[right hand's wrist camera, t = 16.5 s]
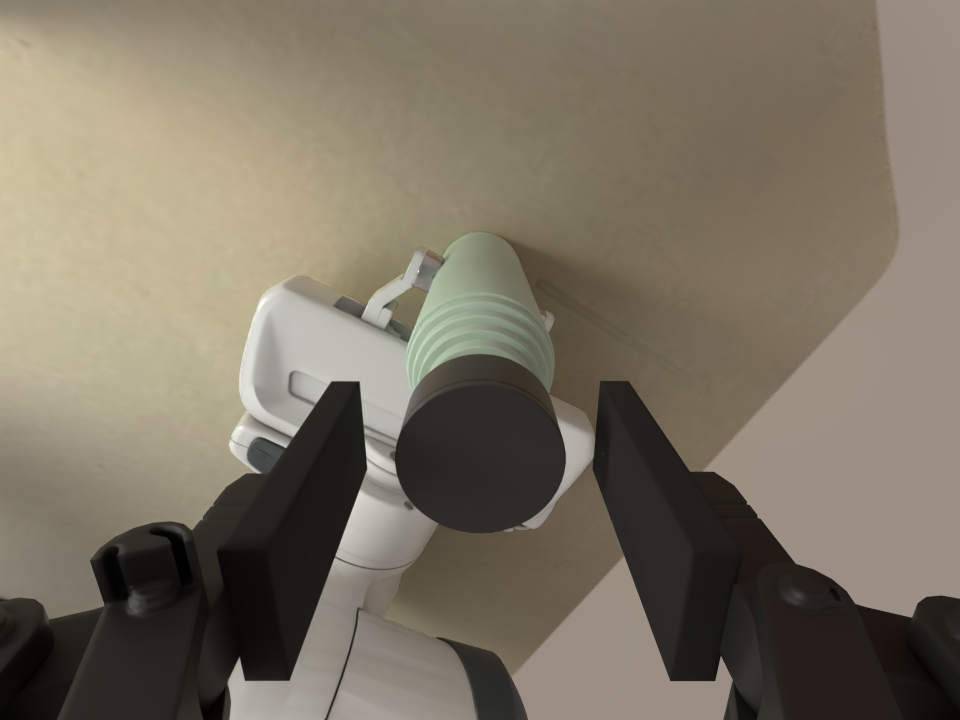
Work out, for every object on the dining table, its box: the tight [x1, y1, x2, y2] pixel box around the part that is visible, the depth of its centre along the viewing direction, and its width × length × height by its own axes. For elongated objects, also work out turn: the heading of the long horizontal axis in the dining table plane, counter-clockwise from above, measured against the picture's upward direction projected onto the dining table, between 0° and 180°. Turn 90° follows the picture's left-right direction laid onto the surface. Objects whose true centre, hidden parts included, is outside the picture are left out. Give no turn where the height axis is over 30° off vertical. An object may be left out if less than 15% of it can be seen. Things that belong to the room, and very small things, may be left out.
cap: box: [395, 354, 566, 533], centre depth 14 cm, size 4×4×2 cm
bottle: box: [406, 232, 555, 394], centre depth 24 cm, size 5×5×22 cm
